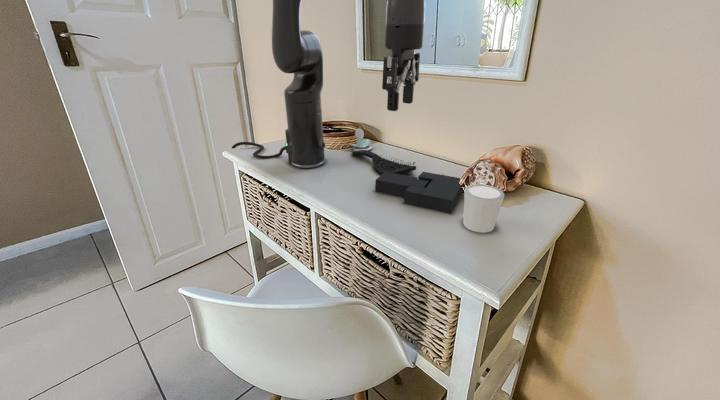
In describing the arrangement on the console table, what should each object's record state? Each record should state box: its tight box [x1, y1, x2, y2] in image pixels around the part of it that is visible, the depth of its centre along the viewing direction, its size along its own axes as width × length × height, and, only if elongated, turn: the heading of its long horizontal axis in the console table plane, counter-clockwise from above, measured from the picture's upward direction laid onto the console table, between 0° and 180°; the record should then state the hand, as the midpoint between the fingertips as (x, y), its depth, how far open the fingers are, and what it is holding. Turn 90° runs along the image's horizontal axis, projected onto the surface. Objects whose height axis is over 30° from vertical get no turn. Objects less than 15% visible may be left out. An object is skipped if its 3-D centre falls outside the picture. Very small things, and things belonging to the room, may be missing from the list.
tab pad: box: [374, 172, 429, 199], centre depth 76 cm, size 11×6×3 cm, turn 62°
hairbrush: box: [351, 150, 417, 176], centre depth 90 cm, size 8×4×25 cm
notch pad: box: [403, 171, 464, 214], centre depth 73 cm, size 10×12×3 cm
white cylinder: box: [462, 183, 506, 234], centre depth 61 cm, size 7×7×7 cm
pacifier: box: [348, 128, 373, 151], centre depth 102 cm, size 7×6×6 cm
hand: (400, 106), depth 72 cm, fingers open, 8 cm apart
